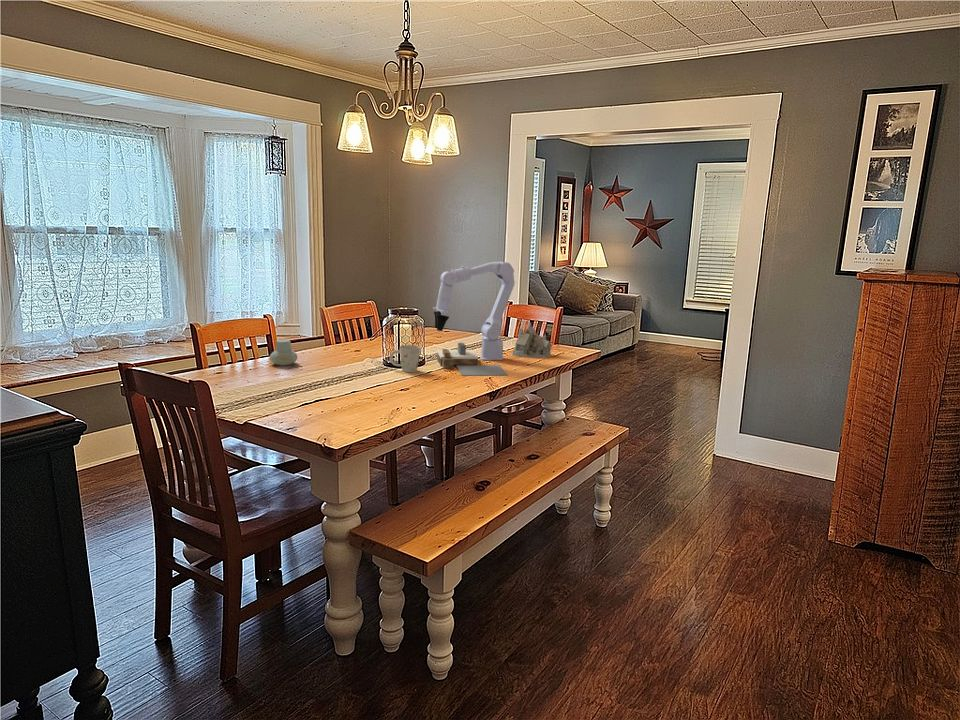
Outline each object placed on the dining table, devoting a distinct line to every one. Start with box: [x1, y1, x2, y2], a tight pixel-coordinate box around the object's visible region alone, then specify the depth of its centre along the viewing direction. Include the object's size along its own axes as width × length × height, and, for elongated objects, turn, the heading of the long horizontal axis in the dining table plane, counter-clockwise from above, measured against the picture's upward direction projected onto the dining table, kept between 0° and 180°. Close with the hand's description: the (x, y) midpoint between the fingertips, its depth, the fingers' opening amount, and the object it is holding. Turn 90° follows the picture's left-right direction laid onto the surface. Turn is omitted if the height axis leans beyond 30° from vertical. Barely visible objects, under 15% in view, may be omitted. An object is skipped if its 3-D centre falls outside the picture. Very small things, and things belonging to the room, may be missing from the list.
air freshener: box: [269, 339, 298, 367], centre depth 263 cm, size 11×8×10 cm
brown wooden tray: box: [436, 352, 479, 370], centre depth 277 cm, size 16×20×4 cm
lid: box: [436, 342, 479, 360], centre depth 279 cm, size 16×14×6 cm
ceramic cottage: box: [511, 322, 553, 359], centre depth 300 cm, size 16×16×15 cm
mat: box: [455, 364, 509, 377], centre depth 266 cm, size 19×17×1 cm
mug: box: [389, 344, 421, 373], centre depth 260 cm, size 8×13×10 cm, turn 89°
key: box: [441, 348, 450, 358], centre depth 273 cm, size 2×8×2 cm, turn 11°
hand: (438, 329), depth 279 cm, fingers open, 7 cm apart
